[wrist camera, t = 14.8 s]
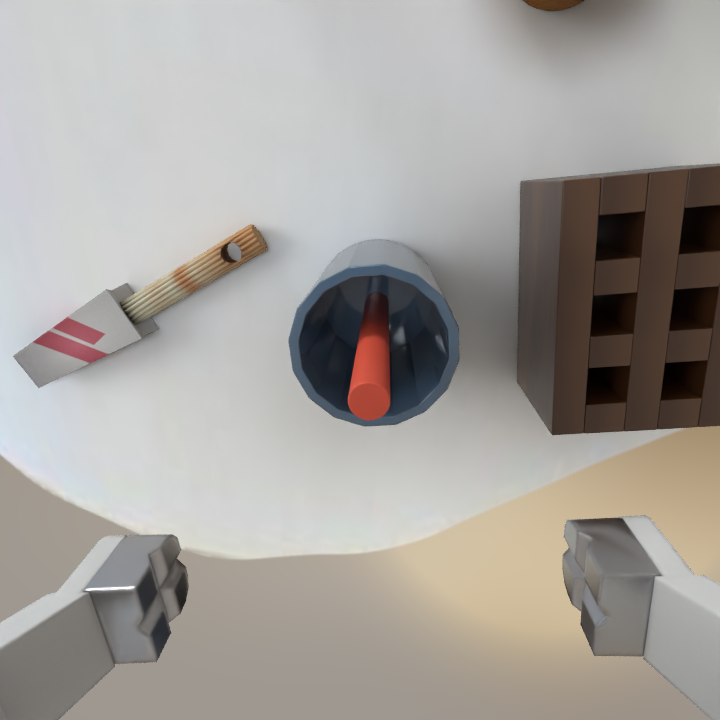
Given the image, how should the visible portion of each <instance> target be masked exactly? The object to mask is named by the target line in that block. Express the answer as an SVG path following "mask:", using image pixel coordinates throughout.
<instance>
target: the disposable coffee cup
mask: <svg viewBox="0 0 720 720" xmlns="http://www.w3.org/2000/svg"><path fill="white" fill-rule="evenodd" d="M523 1H525V2H526V3H527V4H528V5H530V6H532V7H534V8H537V9H542V10H547V11H556V10H563V9H568V8H570V7H573V6H575V5H577V4H579V3H581V2H582V1H584V0H523Z"/></svg>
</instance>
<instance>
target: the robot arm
mask: <svg viewBox="0 0 720 720" xmlns="http://www.w3.org/2000/svg"><path fill="white" fill-rule="evenodd" d="M564 537H565V540H566V542H567V544H568V546H569V548H568V550H567V551H566V552H565V553H564V554H563V575H564V582H565V586H566V589H567V593H568V596H569V598H570V601H571V603H572V605H573V606H575V607H576V608H577V609H578V610H580V611H581V626H582V629H583V631H584V633H585V635H586V638H587V640H588V642H589V645H590V647H591V649H592V651H593V654H594V655H595V656H644V658H643V659H644V660H645V661H646V662H648V663H649V664H650V665H651V666H652V667H653V668H654V669H655V670H657V671H658V672H659V673H660V674H661V675H662V676H663V677H664V678H665V679H667V680H668V681H669V682H670V683H671V684H672V685H673V686H674V687H675V688H677V689H678V690H679V691H680V692H681V693H682V694H684V695H685V696H686V697H687V698H688V699H689V700H690V701H691V702H692V703H693V704H694V705H696V706H697V707H698V708H699V709H700V710H701V711H702V712H703V713H704V714H706V715H707V716H708V717H709V718H710V719H711V720H720V584H719V583H717V582H715V581H713V580H711V579H709V578H708V577H706V576H704V575H695V574H694V573H693V572H692V571H691V569H690V568H689V567H688V565H687V564H686V563H685V562H684V560H683V559H682V558H681V557H680V555H679V554H678V553H677V551H676V550H675V549H674V548H673V546H672V545H671V544H670V543H669V541H668V540H667V539H666V538H665V536H664V535H663V534H662V532H661V531H660V530H659V529H658V527H657V526H656V525H655V523H654V522H653V521H652V520H651V518H649V517H647V516H645V515H641V516H625V517H618V518H601V519H600V518H599V519H577V520H567V521H566V524H565V530H564ZM180 551H181V548H180V545H179V541H178V538H177V537H176V536H174V535H129V536H126V535H122V536H106V537H104V538H102V539H100V540H99V541H98V543H97V544H96V545H95V547H94V548H93V549H92V550H91V551H90V552H89V554H88V555H87V556H86V557H85V559H84V560H83V561H82V562H81V563H80V565H79V566H78V567H77V569H76V570H75V571H74V572H73V573H72V575H71V576H70V577H69V578H68V579H67V581H66V582H65V583H64V584H63V586H62V587H61V588H60V589H59V590H58V592H57V593H49V594H47V595H45V596H44V597H43V598H41V599H39V600H37V601H36V602H34V603H33V604H31V605H29V606H27V607H26V608H24V609H22V610H21V611H19V612H17V613H16V614H14V615H12V616H11V617H9V618H7V619H6V620H4V621H2V622H1V623H0V720H58V719H60V718H61V717H62V716H63V715H64V714H65V713H66V712H67V711H68V710H69V709H70V708H71V707H72V706H73V705H74V704H76V703H77V702H78V701H79V700H80V699H81V698H82V697H83V696H84V695H85V694H86V693H87V692H88V691H89V690H90V689H92V688H93V687H94V686H95V685H96V684H97V683H98V682H99V681H100V680H101V679H102V678H103V677H104V676H105V675H106V674H107V673H109V672H110V671H111V670H112V669H113V668H114V667H115V664H125V663H146V662H157V660H158V658H159V656H160V654H161V652H162V650H163V648H164V646H165V644H166V642H167V639H168V637H169V635H170V634H171V631H170V627H169V624H168V623H169V622H171V621H172V620H173V619H174V618H175V617H177V616H178V615H179V614H180V613H181V611H182V609H183V606H184V604H185V602H186V597H187V591H188V575H187V570H186V567H185V566H184V565H183V564H182V563H181V562H180V561H179V560H178V559H177V556H178V555H179V553H180Z"/></svg>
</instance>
